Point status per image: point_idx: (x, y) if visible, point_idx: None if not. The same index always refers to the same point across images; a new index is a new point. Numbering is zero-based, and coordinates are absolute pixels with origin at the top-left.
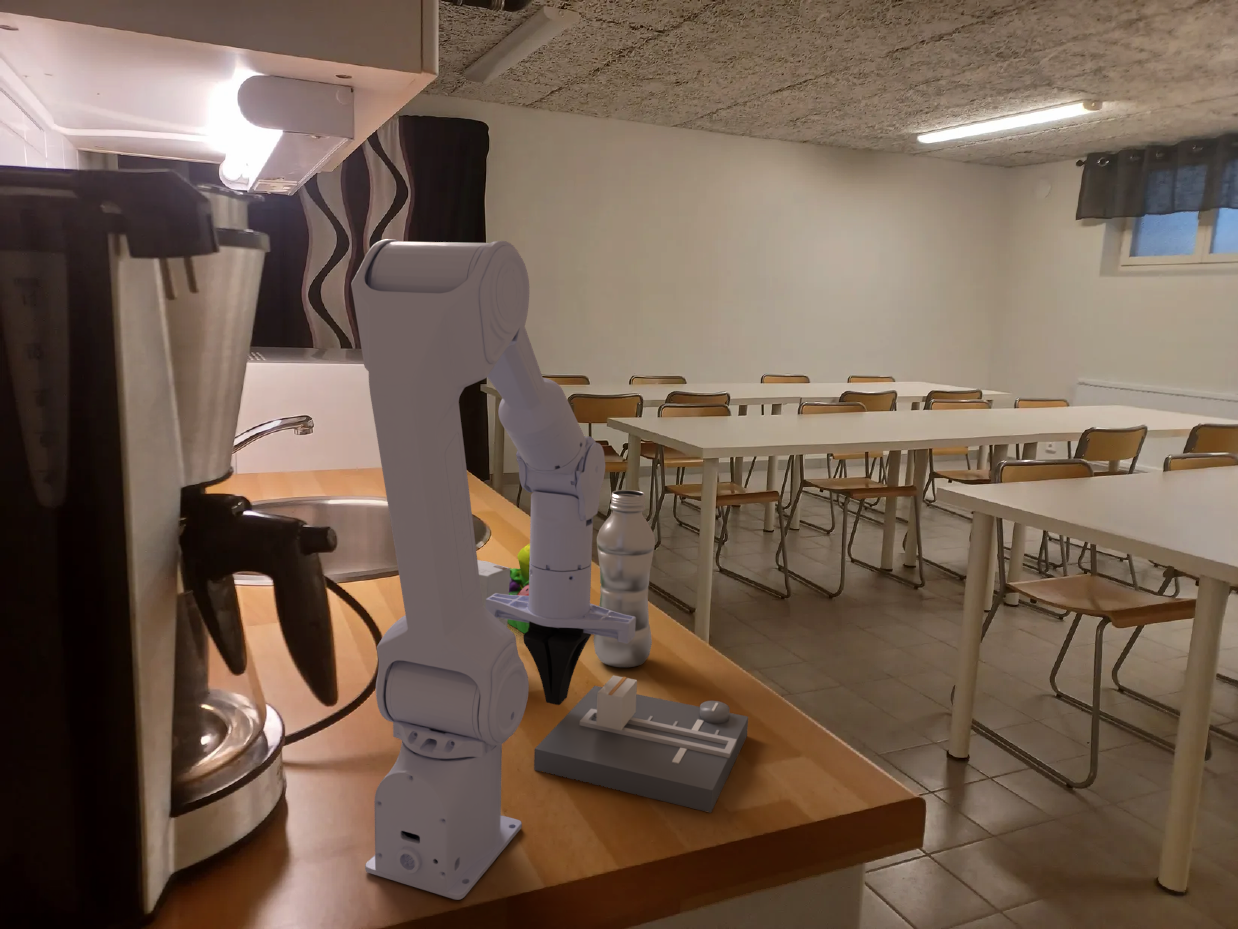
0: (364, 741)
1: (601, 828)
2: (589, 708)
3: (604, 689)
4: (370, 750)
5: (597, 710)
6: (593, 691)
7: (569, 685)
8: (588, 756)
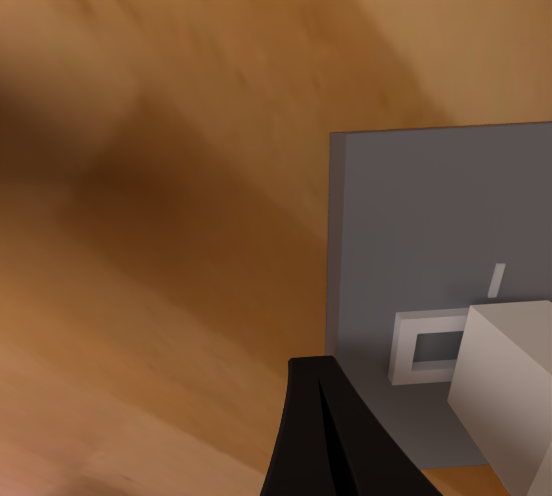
0: (7, 479)
1: (468, 486)
2: (384, 294)
3: (542, 487)
4: (43, 490)
5: (476, 441)
6: (359, 182)
7: (348, 379)
8: (442, 455)
